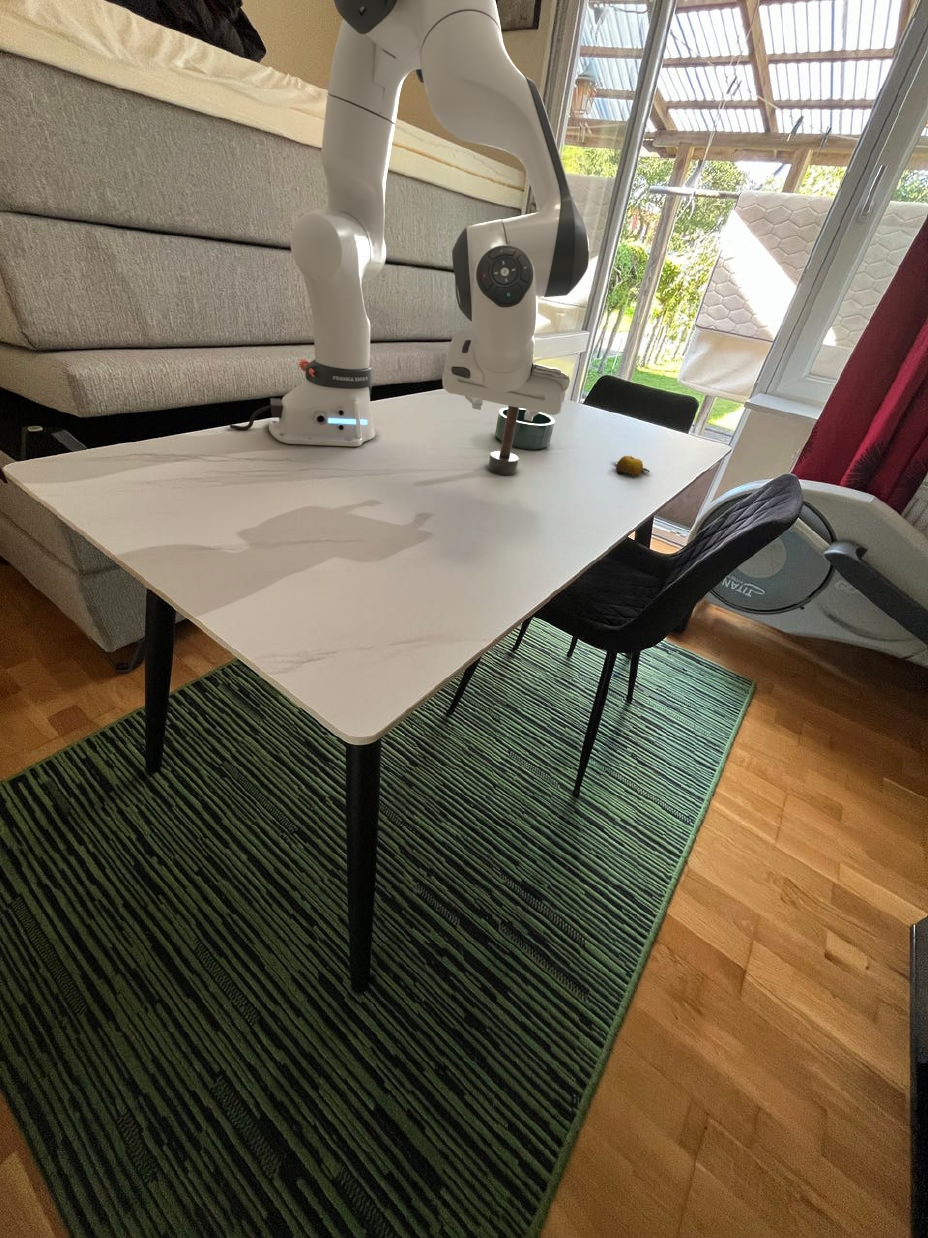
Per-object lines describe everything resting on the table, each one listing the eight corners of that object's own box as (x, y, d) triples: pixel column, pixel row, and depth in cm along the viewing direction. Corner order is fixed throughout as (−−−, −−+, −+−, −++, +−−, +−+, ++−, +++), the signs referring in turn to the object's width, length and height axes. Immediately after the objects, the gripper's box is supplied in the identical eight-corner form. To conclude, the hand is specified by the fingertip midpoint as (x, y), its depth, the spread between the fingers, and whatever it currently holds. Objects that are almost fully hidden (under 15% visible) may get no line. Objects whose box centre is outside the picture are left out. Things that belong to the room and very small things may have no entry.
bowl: (512, 451, 121) (518, 425, 117) (485, 432, 130) (489, 407, 127) (559, 449, 127) (565, 424, 123) (529, 431, 136) (534, 407, 133)
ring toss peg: (497, 475, 107) (511, 394, 97) (483, 465, 111) (496, 385, 101) (521, 474, 109) (537, 395, 100) (506, 463, 113) (521, 386, 104)
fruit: (649, 472, 122) (655, 457, 120) (642, 481, 116) (647, 465, 114) (616, 462, 125) (621, 447, 123) (607, 471, 119) (611, 455, 117)
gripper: (576, 354, 77) (565, 407, 91) (445, 328, 79) (453, 384, 93) (566, 391, 76) (556, 440, 90) (434, 364, 78) (444, 415, 92)
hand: (503, 411), depth 91 cm, fingers open, 8 cm apart
